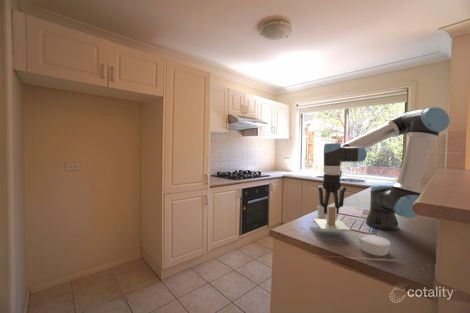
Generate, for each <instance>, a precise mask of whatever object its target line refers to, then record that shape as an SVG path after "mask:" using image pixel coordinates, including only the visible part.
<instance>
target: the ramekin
mask: <svg viewBox="0 0 470 313" xmlns="http://www.w3.org/2000/svg"><path fill="white" fill-rule="evenodd" d="M358 240H359V245H360V249H361V250H362V251H364V252H365V253H367V254H371V255H372V256H373V255H374V256H380V257H381V256H382V257H383V256H387V254H388V253H389V250H390V247H391V242H390V241H389V240H388V239H387V238H384V237H382V236H380V235H375V234H368V233H363V234H360V235H359V236H358Z"/></svg>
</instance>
